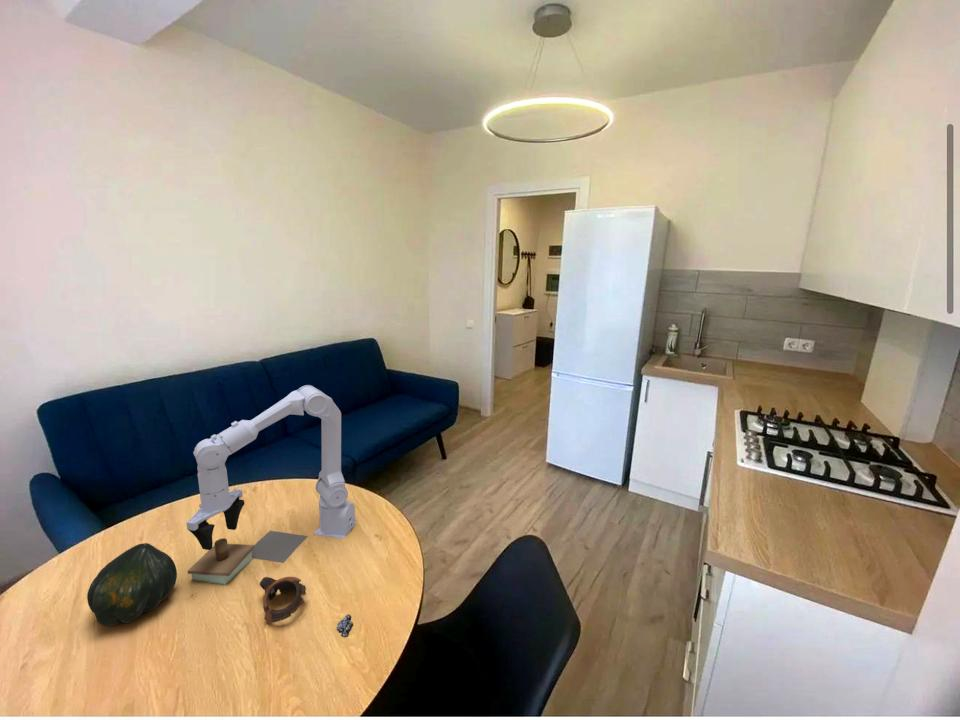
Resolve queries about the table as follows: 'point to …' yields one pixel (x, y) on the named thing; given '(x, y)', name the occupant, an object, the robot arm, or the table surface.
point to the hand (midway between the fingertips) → (220, 538)
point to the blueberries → (345, 626)
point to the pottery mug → (283, 586)
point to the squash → (131, 585)
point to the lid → (221, 559)
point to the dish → (222, 579)
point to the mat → (277, 546)
